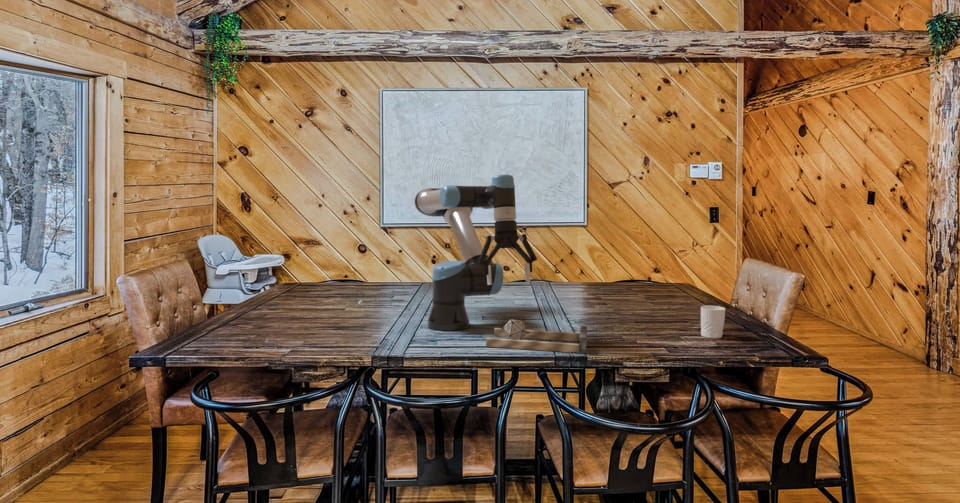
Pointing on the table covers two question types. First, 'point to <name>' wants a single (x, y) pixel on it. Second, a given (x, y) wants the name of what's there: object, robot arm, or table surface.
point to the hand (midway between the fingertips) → (509, 283)
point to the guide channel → (541, 344)
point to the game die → (515, 329)
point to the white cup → (712, 321)
